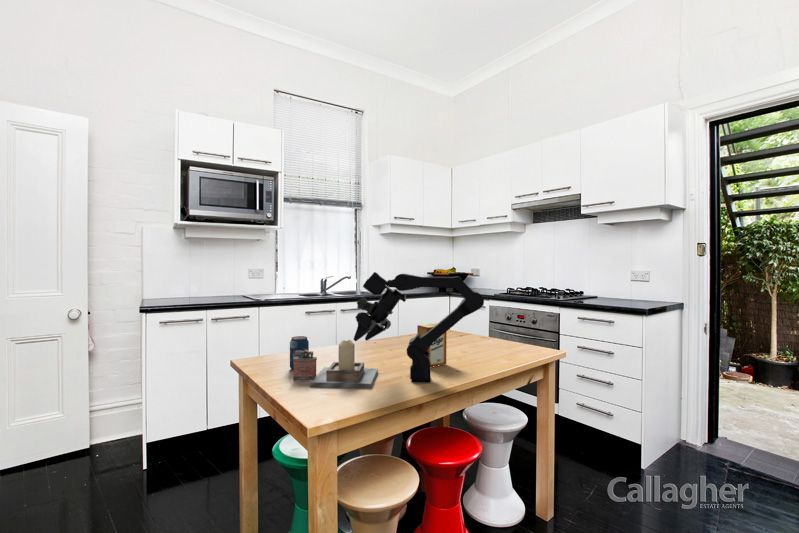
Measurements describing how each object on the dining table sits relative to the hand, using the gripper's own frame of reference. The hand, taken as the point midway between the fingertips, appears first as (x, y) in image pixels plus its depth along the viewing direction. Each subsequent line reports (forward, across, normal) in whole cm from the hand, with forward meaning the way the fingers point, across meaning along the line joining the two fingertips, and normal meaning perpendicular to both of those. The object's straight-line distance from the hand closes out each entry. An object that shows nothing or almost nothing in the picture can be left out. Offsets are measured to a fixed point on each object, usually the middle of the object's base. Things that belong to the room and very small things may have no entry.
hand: (360, 340), depth 138 cm
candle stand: (+13, +1, +4) cm, 14 cm away
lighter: (+22, +6, -6) cm, 23 cm away
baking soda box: (-3, -28, +21) cm, 35 cm away
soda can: (+26, -4, -14) cm, 30 cm away
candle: (+11, +1, +3) cm, 11 cm away
